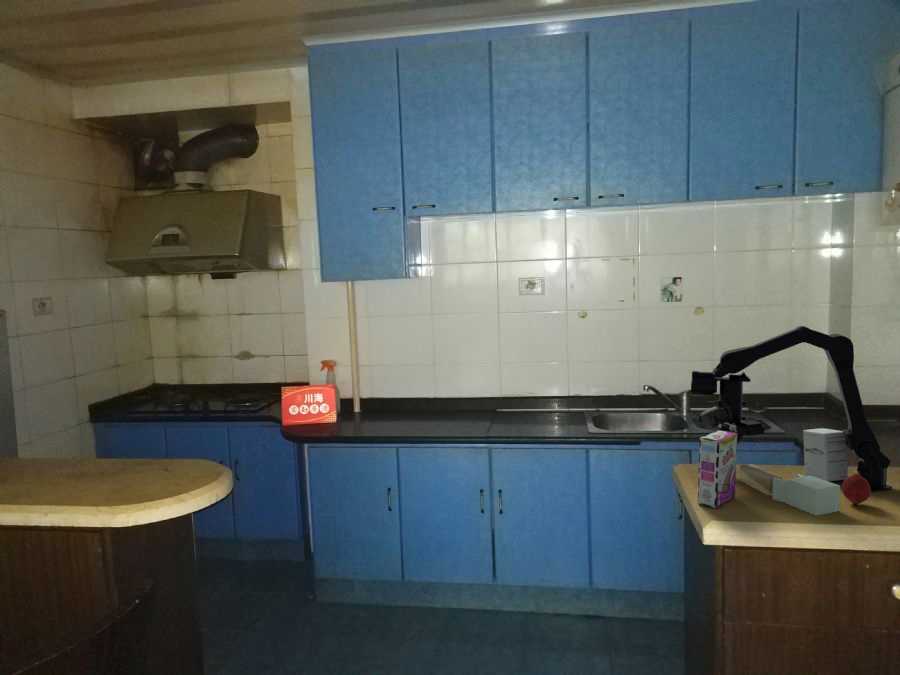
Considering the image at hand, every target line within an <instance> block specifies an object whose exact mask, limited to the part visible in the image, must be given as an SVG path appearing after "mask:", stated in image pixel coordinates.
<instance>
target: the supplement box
mask: <svg viewBox="0 0 900 675" xmlns="http://www.w3.org/2000/svg"><path fill="white" fill-rule="evenodd" d="M802 432H803V434H802V435H803V455H804V456H803V457H804V459H803V460H804V477H805V476H813V477H816V478H819V479H822V480H825V481H828V482H834V481H841V480H845V479H846V478H848V477H849V471H848V468H849V466H848V446H847V445H846V444H845V441H846V440H845V436H844V434H843V431H842V430H839V429H838V430H836V429H831V428H824V427H823V428H822V427H821V428H820V427H819V428H813V429H812V428H811V429H803V430H802Z"/></svg>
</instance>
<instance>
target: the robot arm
mask: <svg viewBox="0 0 900 675" xmlns="http://www.w3.org/2000/svg"><path fill="white" fill-rule="evenodd" d="M801 343H802V344H803V343H806V344H808V345H811V346H814V347H817V348H819V349H822V350H823V352H824V353H825V355H826V356H827V359H828V361H829V363H830V364H831V366H832V368H833V370H834V372H835V377H836V379H837V384H838V387H839V388H838V389H839V392H840V396H841V399H842V400H841V401H842V403H843V407H844V411H845V415H846V418H847V428H846V429H841V431H843V434H844V436H845V440H846V441H845V444H846V445H847V449H849V450H851V452H853V453H854V454H855V455H856V456H857V459H859V460H858V462H857V469H856V471H858V472H859V474H860V476H862V477H863V478H865V479H866V480H867V482H868V483H869V485H870V488H871V492H879V491H886V490H892V489H893V486H892V485H888V484H887V480H888V479H887V477H888V468H889V466H890V464H891V463H892V462H891V459H890V458H888V457H887V456H886V455H885V454H884V453H883V452H882V451H881V446H880V443H879V441H878V440H877V438H876V436H875V434H874V432H873V430H872V428H871V426H870V425H869V422H868V420H867V417H866V413H865V409H864V405H863V402H862V397H861V393H860V389H859V386H858V382H857V379H856V374H855V370H854V364H855V352H854V351H855V350H854V349H855V348H854V343H853V341H852V340H851V339H850V338H849V337H847V336H844V335H842V334H839V333H831V334H826V333H823V332H820V331H817V330H815V329H811V328H809V327H807V326H805V325H799V326H797V327H795V328H794V329H791V330H788V331H785V332H783V333H781V334H778V335H776V336H774V337H770V338H768V339H765V340H763V341H760V342H758V343H755V344H753V345H749V346H743V347H738V348H735V349H728V350H726V351H724V352H723V353H722V354H721V355H720V357H719V363H718V364H717V365H716V367H714V368H713V370H712V372H711V371H697V370H692V371H691V381H690V396H691V397H692V396H693V397H714V396H713V395H715V394H718V382H719V398H718V399H716V400H715V402H714V406H713V407H709V408H708V409H706V410H704V411H701V413H699V416H698V422H699V423H701V424H703V426H707V427H710V428H712V429H714V430H715V431H719V430H720V431H727V432H733V433H737V446H738V445H739V443H740V441H741V439H742V438H743V437H744V436H748V437H749V436H757V435H764V434H765V430H766V429H765V425H764V424H763V423H762V422H759V421H755V420H748V421H747V418H746V416H745V415H743V406H747V401H745V400H743V394H744V393H743V387H744V386H743V385H744V384H743V383H750V382H751V378H750V377H749V376H748V375H747V374H746V372H744V371H743V370H745V369H747V368H749V367H750V366H751V365H752V364H754V363H756V362H757V361H759V360H761V359H764V358H766V357H769V356H771V355H773V354H777V353H779V352H781V351H784V350H787V349H789V348H792V347H794V346H796V345H800V344H801ZM741 371H742V372H741ZM740 372H741V373H740ZM738 373H740V374H738ZM727 375H728V377H725V376H727Z"/></svg>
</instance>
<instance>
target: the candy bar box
mask: <svg viewBox="0 0 900 675" xmlns="http://www.w3.org/2000/svg"><path fill="white" fill-rule="evenodd" d="M698 451H699V452H698V484H697V486H698V487H697V504H698V505H701V506H704V507H709V508H710V509H711V508H712V509H718V508H720V507H721V506H723V505H724V504H726V503H727V502H729V501H731V500H733V499H735V498H736V485H737V484H736V483H737V477H736V476H737V475H736V474H737V458H738V457H737V454H738V445H737V433H733V432H727V431H720V430H719V431H717V430H715V431H713V432H711V433H709V434H707V435H704V436H701V437H699V450H698Z"/></svg>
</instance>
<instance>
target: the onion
mask: <svg viewBox="0 0 900 675" xmlns="http://www.w3.org/2000/svg"><path fill="white" fill-rule="evenodd" d="M843 480H844V481H843V482H842V486H841V493H842V494H843V496H844V497H845V498H846V499H847V501H848V502H850V503H851V504H853V505H855V504H856V505H859V504H861V503H864V502H865V501H867V500H868V499H869V498H870V497H871V494H872V491H871V488H870V485H869V483H868V482H867V480H866V479H865V478H863V477H862V476H860V474H859V472H858V471H857V470H855V471H854V473H853V474H852V475H850V476H849V475H848V478H846V479H843Z"/></svg>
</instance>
